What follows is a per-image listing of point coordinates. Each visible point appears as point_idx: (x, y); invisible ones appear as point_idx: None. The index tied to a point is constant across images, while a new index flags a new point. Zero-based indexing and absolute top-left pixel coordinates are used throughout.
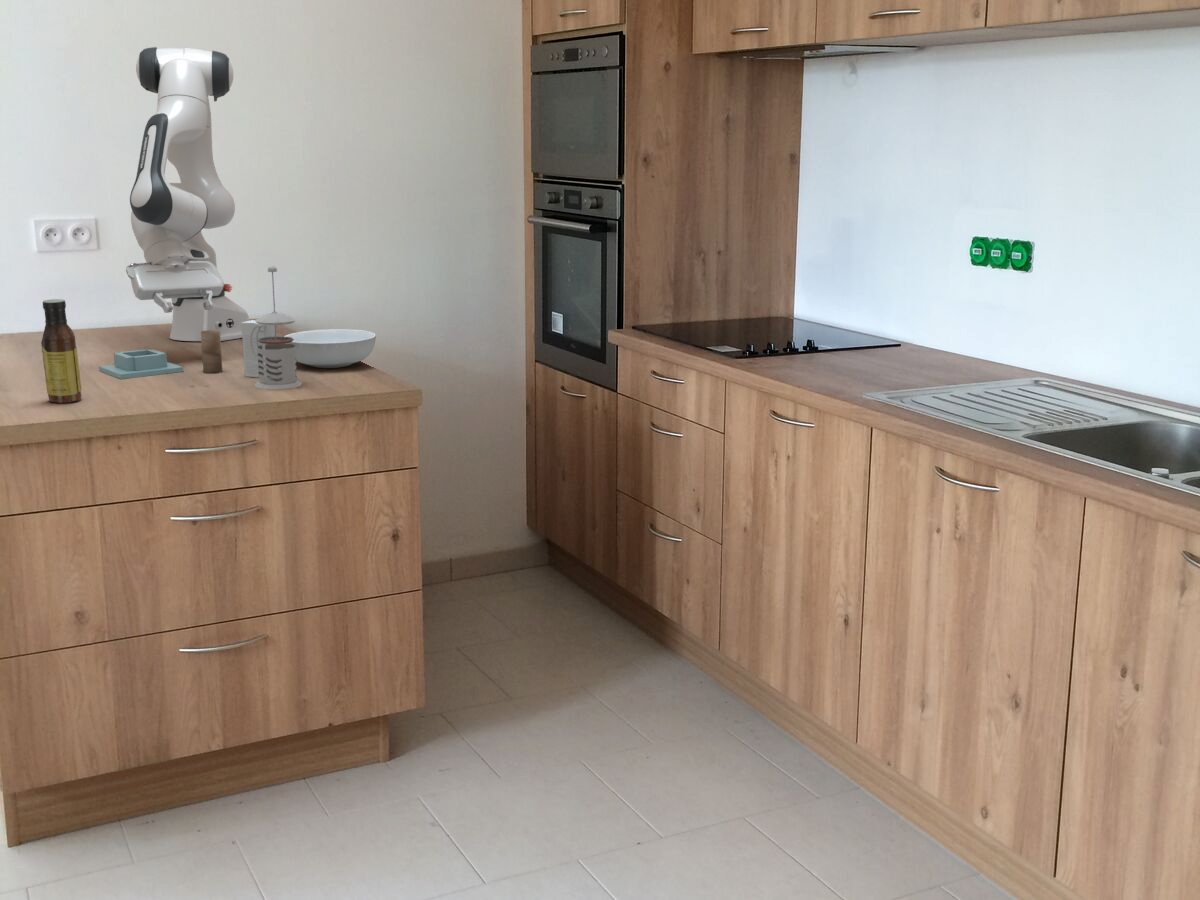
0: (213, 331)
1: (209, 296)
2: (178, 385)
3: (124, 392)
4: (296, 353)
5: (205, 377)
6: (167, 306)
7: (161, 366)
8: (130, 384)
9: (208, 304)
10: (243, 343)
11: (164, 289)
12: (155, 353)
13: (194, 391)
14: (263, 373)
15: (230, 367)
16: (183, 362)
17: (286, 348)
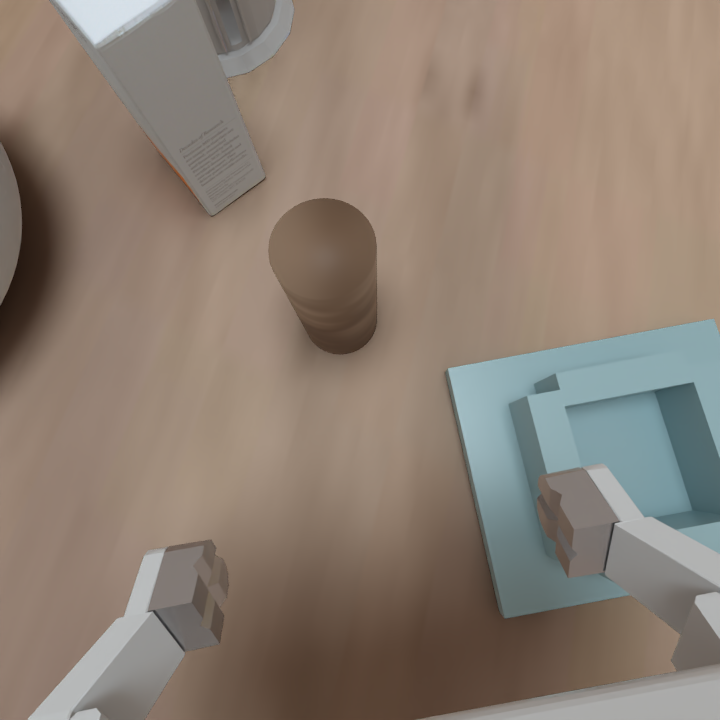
0: (305, 243)
1: (106, 656)
2: (514, 127)
3: (701, 89)
4: (12, 169)
5: (395, 223)
6: (599, 473)
7: (538, 382)
8: (671, 210)
9: (185, 551)
10: (226, 80)
11: (717, 671)
12: (573, 440)
13: (485, 20)
14: (239, 27)
15: (251, 381)
16: (395, 605)
17: (8, 236)
